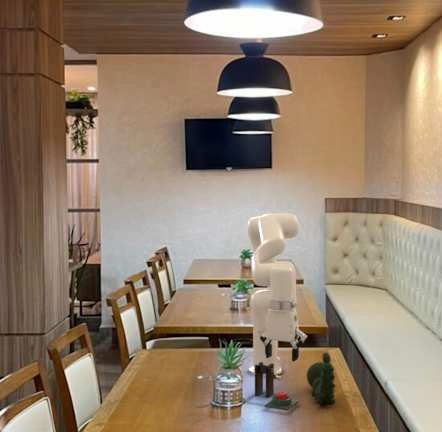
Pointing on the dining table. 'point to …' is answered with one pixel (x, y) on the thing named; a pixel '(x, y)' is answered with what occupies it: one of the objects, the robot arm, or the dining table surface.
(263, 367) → the press lever
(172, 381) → the dining table surface
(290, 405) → the console
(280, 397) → the button
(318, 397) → the green bumpy upright shape
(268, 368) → the lever bracket
